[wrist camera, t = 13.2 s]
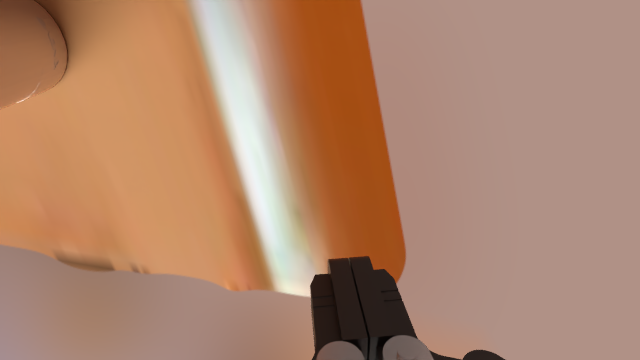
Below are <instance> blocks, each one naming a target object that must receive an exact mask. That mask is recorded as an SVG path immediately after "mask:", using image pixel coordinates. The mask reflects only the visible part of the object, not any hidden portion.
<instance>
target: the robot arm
mask: <svg viewBox="0 0 640 360" xmlns="http://www.w3.org/2000/svg"><path fill="white" fill-rule="evenodd" d="M66 65H67V49H66V44H65V40H64V38H63V35H62V33H61V31H60V29H59V27H58V26H57V24H56V22H55V21H54V19H53V18H52V17H51V16H50V15H49V13H48V12H47V11H46V10H45V9H44V8H43V7H42V6H41V5H39V4H38V3H37V2H36V1H34V0H0V109H3V108H5V107H8V106H10V105H13V104H15V103H18V102H20V101H23V100H25V99H28V98H30V97H33V96H35V95H37V94H40V93H42V92H45V91H47V90H48V89H50V88H52V87H54V86H55V85H56V84H57V83H58V82H59V81H60V79H61V78H62V76H63V74H64V73H65V69H66ZM310 288H311V309H312V324H313V335H314V346H315V354H314V357H313V359H312V360H461V359H456V358H451V357H446V356H441V355H438V354H436V353H434V352H432V351H430V350H429V349H428V348H427V347H426V345H424V344H423V343H422V342H421V341H420V340H418V338H417V336H416V334H415V332H414V329H413V326H412V324H411V321H410V319H409V316H408V313H407V311H406V309H405V306H404V303H403V301H402V298H401V296H400V293H399V292H398V288H397V285H396V283H395V280H394V278H393V277H392V276H391V275H390V274H389V273H388V272H387V271H386V270H385V269H380V270H373V267H372V264H371V261H370V258H369V256H364V257H351V258H349V259H348V258H339V259H328V274H319V275H315V276H314V279H313V281H312V283H311V285H310ZM463 360H505V359H503V358H502V357H500V356H498V355H497V354H494V353H492V352H489V351H485V350H474V351H471V352H469V353H467V354H466V355H465V356H464V358H463Z"/></svg>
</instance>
